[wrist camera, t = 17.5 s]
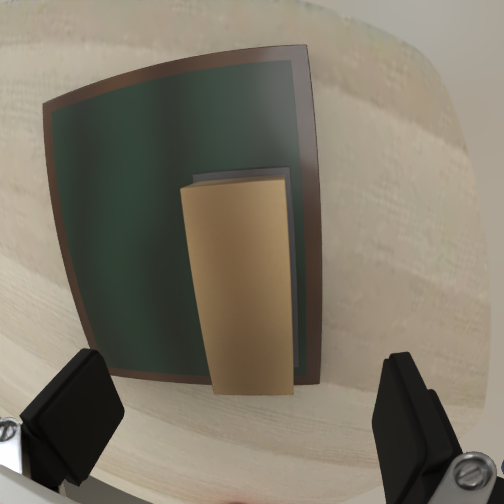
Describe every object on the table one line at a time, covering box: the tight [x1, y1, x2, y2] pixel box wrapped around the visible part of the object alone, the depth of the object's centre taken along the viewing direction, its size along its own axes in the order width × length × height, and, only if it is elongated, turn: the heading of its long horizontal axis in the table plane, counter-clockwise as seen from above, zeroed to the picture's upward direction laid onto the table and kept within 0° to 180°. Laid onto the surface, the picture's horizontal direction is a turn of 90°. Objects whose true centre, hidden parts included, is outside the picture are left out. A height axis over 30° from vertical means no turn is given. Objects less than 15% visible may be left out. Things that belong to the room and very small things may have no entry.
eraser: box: [180, 165, 298, 395], centre depth 16 cm, size 5×12×4 cm, turn 5°
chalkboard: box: [43, 45, 322, 385], centre depth 19 cm, size 18×22×1 cm
